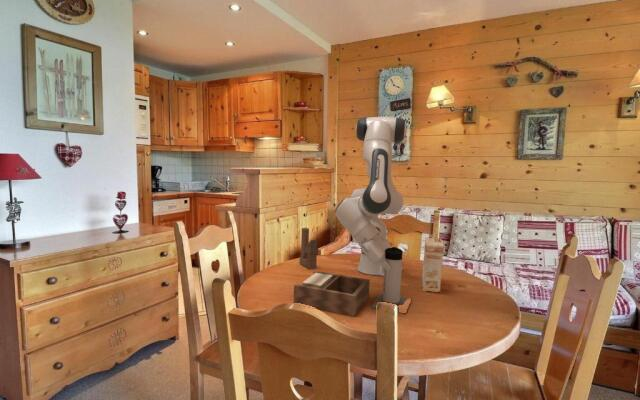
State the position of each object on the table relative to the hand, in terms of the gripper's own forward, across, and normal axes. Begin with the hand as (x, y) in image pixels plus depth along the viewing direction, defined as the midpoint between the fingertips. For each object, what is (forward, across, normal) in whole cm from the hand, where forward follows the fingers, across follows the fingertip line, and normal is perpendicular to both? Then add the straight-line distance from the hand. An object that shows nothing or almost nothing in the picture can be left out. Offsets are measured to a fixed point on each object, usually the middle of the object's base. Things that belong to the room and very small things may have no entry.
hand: (392, 265), depth 130 cm
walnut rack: (-4, -7, +24) cm, 26 cm away
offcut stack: (-8, -7, +29) cm, 31 cm away
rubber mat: (+11, 0, +9) cm, 14 cm away
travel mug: (+10, 0, +10) cm, 14 cm away
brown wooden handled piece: (-22, +28, +42) cm, 55 cm away
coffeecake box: (+19, +26, +2) cm, 32 cm away
